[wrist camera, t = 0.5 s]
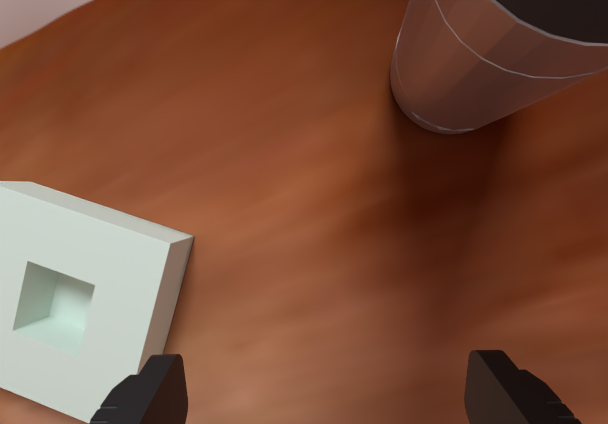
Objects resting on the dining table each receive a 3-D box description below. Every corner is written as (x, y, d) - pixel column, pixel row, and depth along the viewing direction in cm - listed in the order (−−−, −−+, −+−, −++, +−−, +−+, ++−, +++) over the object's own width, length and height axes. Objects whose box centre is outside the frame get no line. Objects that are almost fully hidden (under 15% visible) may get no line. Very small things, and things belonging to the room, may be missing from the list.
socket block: (30, 181, 32) (-15, 180, 28) (194, 236, 30) (170, 243, 26) (-4, 345, 34) (-52, 366, 30) (149, 405, 32) (120, 436, 28)
